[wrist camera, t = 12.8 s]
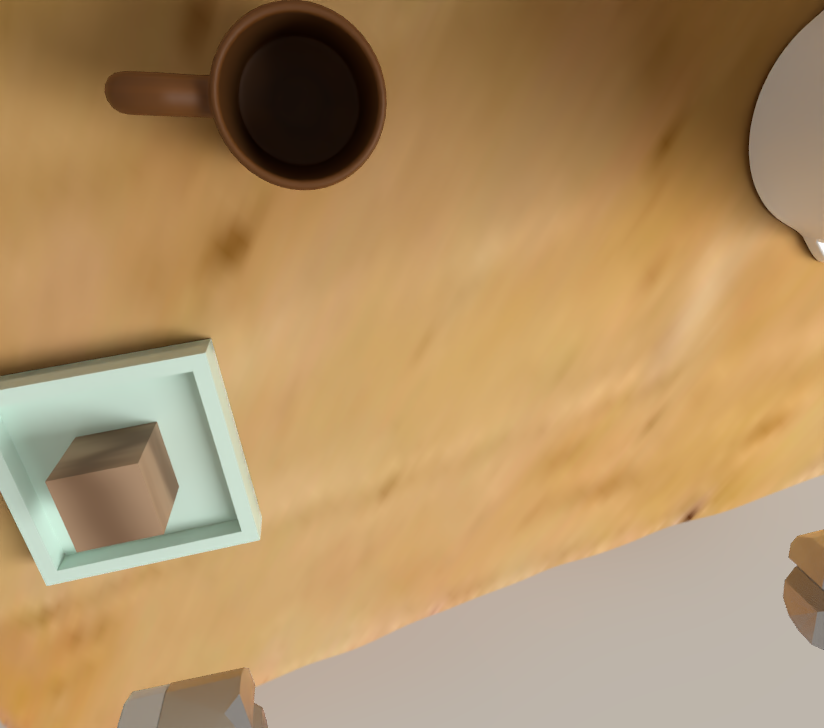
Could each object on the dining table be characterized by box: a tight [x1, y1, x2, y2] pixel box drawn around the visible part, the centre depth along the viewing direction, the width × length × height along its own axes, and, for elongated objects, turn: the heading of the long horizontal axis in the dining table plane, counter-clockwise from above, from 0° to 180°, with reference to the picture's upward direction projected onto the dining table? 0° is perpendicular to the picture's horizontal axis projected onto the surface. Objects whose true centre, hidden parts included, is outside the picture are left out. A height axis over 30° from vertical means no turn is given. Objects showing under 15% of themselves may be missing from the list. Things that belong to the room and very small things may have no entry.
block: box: [45, 422, 179, 552], centre depth 37 cm, size 5×5×5 cm
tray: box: [0, 338, 262, 586], centre depth 39 cm, size 14×14×2 cm
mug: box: [105, 0, 387, 190], centre depth 29 cm, size 12×8×9 cm, turn 88°
